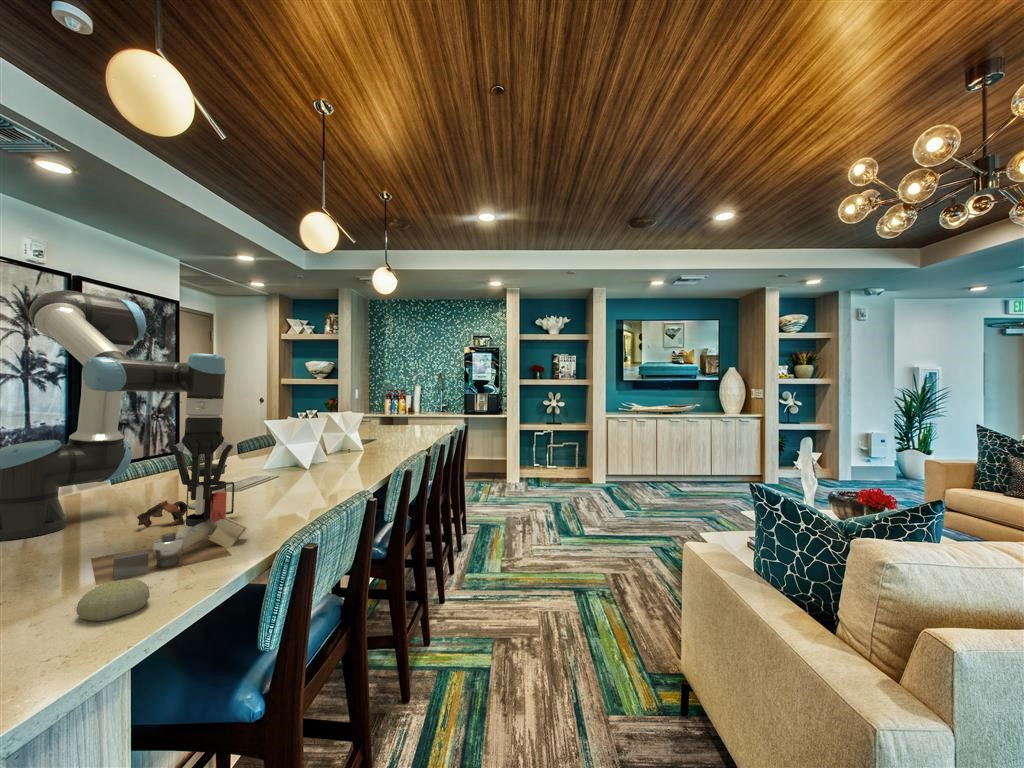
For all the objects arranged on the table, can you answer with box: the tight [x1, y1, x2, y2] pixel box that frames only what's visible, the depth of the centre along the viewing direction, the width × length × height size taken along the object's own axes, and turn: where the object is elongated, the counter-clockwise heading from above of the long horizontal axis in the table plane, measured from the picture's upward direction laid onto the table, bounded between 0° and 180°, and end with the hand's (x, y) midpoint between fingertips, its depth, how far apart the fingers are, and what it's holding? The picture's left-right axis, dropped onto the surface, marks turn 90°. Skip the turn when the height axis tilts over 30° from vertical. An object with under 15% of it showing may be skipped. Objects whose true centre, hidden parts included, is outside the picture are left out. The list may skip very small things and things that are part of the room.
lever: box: [152, 490, 227, 559], centre depth 99 cm, size 21×5×9 cm, turn 4°
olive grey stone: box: [75, 578, 151, 622], centre depth 75 cm, size 9×8×8 cm
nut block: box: [209, 517, 248, 548], centre depth 105 cm, size 5×5×5 cm
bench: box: [90, 532, 233, 586], centre depth 95 cm, size 18×22×8 cm
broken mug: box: [136, 500, 187, 528], centre depth 121 cm, size 12×10×8 cm
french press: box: [185, 463, 235, 528], centre depth 121 cm, size 12×9×23 cm
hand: (199, 512), depth 106 cm, fingers closed
